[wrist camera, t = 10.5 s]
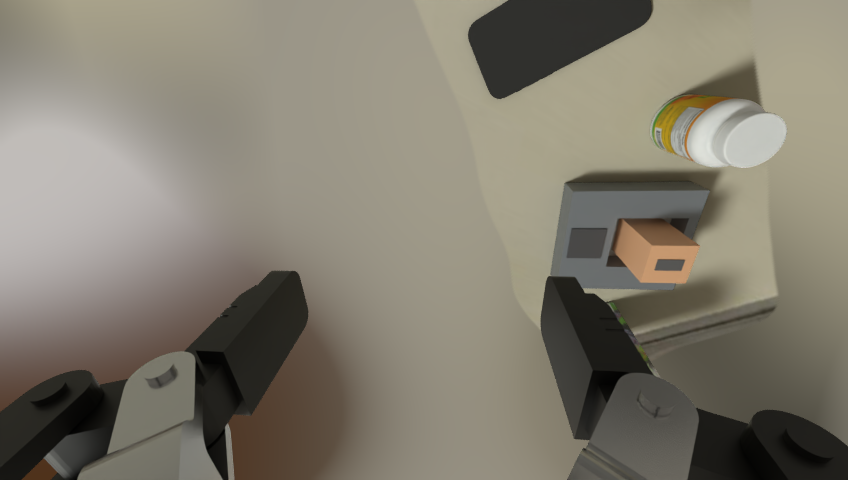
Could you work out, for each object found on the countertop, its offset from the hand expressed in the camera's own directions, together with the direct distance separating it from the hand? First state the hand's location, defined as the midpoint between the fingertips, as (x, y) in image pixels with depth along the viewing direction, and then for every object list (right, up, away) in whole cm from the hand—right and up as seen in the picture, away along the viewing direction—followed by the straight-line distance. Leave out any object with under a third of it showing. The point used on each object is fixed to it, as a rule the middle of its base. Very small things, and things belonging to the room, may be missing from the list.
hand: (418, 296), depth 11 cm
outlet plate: (+23, +3, +28) cm, 36 cm away
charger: (+25, +3, +27) cm, 37 cm away
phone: (+12, +22, +20) cm, 32 cm away
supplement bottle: (+26, +14, +22) cm, 36 cm away
